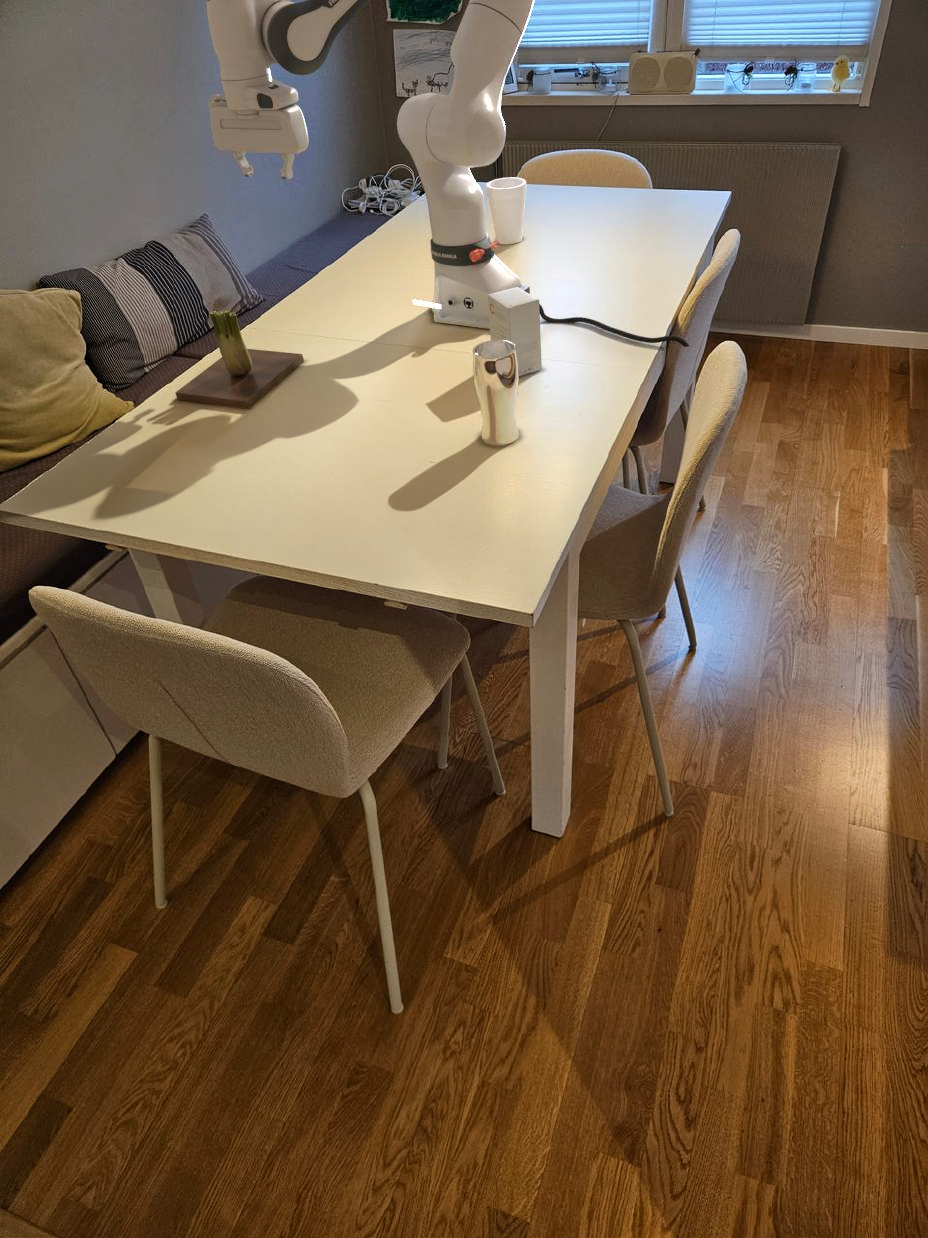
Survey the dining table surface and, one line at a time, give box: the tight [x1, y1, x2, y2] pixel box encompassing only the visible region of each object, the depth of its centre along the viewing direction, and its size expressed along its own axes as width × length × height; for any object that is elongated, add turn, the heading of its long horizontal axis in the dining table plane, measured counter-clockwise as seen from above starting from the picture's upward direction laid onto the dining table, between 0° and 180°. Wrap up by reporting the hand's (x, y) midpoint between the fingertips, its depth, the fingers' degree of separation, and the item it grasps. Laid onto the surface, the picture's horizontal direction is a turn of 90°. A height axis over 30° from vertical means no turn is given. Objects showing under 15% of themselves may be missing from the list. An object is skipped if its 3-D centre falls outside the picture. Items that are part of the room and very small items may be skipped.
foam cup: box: [485, 176, 528, 245], centre depth 209 cm, size 10×9×13 cm
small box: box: [488, 287, 543, 378], centre depth 156 cm, size 8×6×13 cm
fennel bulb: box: [209, 309, 252, 376], centre depth 162 cm, size 6×5×12 cm
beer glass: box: [472, 339, 520, 446], centre depth 136 cm, size 7×7×15 cm
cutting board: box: [174, 348, 305, 410], centre depth 166 cm, size 20×16×2 cm
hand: (268, 177), depth 166 cm, fingers open, 8 cm apart
